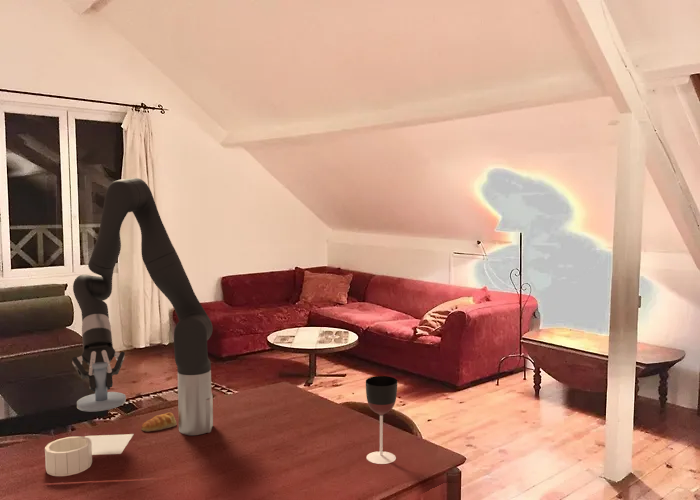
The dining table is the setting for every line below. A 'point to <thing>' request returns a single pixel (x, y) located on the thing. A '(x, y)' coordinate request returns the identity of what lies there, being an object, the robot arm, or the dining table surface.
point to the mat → (109, 443)
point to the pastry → (159, 422)
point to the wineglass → (381, 409)
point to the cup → (68, 456)
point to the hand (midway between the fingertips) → (101, 388)
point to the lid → (101, 393)
